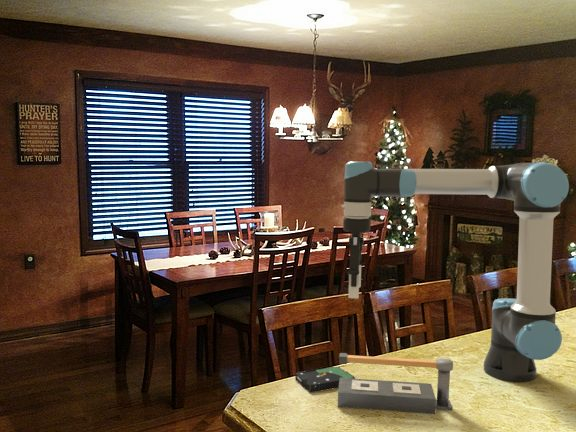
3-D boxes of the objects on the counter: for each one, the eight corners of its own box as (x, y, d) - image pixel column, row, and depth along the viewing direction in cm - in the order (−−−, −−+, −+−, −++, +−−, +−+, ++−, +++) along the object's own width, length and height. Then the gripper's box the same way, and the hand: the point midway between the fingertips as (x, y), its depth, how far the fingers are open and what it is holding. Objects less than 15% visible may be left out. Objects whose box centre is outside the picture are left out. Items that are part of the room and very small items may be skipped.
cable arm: (451, 365, 146) (451, 358, 146) (454, 372, 142) (454, 364, 141) (339, 359, 150) (339, 351, 150) (339, 364, 146) (339, 357, 145)
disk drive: (310, 395, 153) (356, 386, 159) (310, 385, 152) (356, 376, 158) (294, 381, 162) (338, 373, 168) (294, 372, 162) (338, 364, 168)
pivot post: (449, 403, 147) (451, 367, 146) (452, 410, 143) (453, 373, 142) (432, 402, 148) (434, 366, 147) (435, 409, 143) (436, 372, 142)
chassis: (430, 397, 150) (431, 381, 150) (435, 414, 140) (435, 397, 140) (339, 391, 154) (339, 375, 153) (337, 406, 144) (338, 390, 143)
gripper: (346, 212, 165) (344, 282, 167) (339, 221, 140) (337, 302, 142) (371, 213, 163) (369, 283, 165) (369, 222, 139) (366, 304, 141)
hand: (354, 292), depth 154 cm, fingers open, 13 cm apart
